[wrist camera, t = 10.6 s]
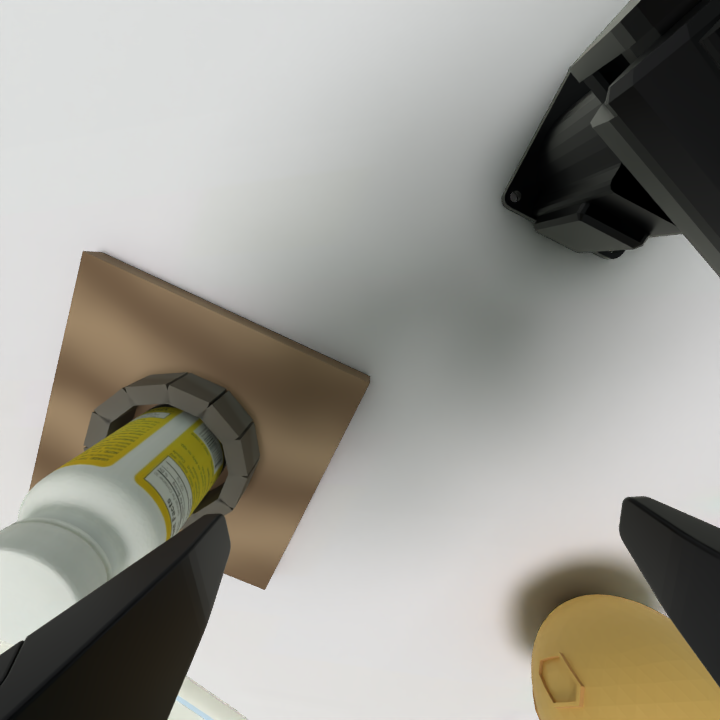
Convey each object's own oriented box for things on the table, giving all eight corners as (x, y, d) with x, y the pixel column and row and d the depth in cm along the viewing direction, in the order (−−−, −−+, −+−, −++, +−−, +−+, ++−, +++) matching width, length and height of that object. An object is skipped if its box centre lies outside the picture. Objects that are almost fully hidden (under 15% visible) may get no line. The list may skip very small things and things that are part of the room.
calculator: (56, 575, 25) (30, 598, 24) (259, 716, 28) (251, 747, 27) (-25, 661, 28) (-53, 688, 27) (167, 781, 31) (154, 813, 30)
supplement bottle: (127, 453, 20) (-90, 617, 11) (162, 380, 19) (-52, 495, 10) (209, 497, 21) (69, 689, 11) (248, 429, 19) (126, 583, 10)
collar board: (101, 252, 18) (45, 249, 15) (370, 376, 20) (368, 397, 16) (46, 482, 23) (-7, 516, 19) (270, 574, 24) (254, 620, 21)
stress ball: (621, 535, 23) (554, 609, 16) (843, 713, 16) (868, 947, 10) (544, 617, 27) (468, 700, 21) (695, 785, 20) (649, 979, 14)
